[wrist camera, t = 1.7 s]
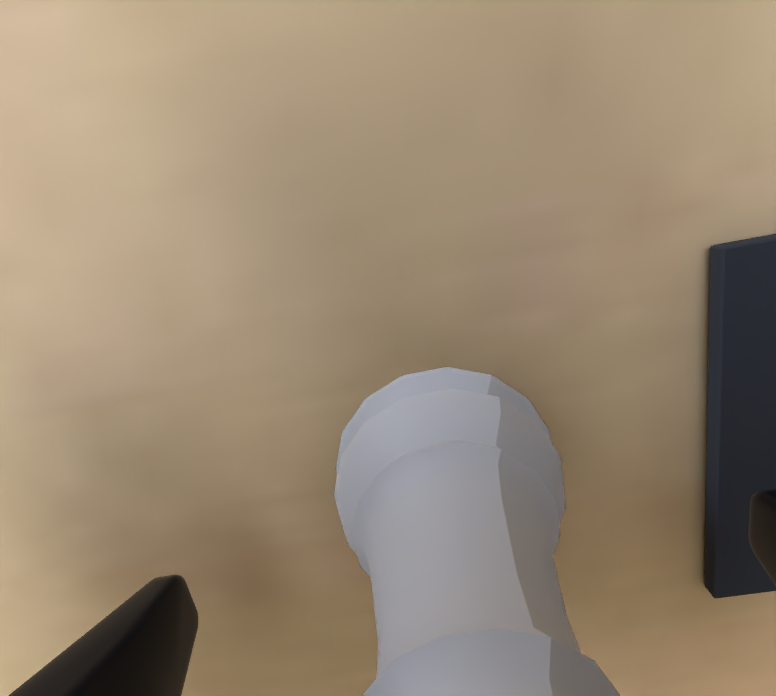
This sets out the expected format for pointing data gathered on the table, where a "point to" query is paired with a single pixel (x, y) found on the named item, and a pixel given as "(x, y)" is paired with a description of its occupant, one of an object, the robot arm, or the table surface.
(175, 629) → the robot arm
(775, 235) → the coaster
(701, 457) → the table surface
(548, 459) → the rook chess piece
